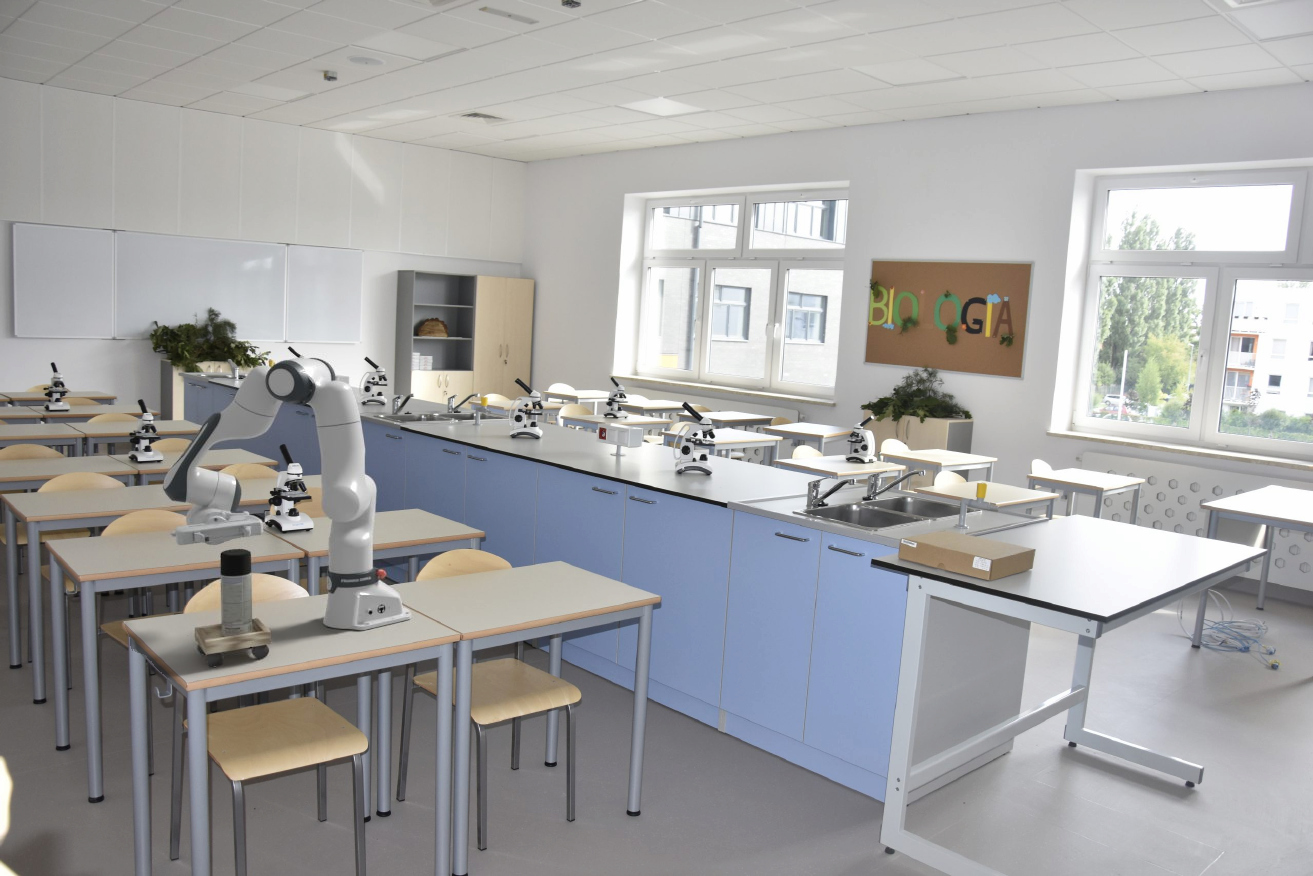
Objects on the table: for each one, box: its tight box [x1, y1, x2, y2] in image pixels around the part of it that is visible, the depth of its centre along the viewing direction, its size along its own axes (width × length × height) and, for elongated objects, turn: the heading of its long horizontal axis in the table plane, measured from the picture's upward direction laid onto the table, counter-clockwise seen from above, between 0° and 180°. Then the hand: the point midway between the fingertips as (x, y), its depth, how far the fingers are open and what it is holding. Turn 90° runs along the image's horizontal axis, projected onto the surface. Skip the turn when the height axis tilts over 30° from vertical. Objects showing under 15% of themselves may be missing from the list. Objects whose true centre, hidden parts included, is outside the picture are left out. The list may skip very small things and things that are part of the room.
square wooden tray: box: [194, 617, 272, 668], centre depth 223 cm, size 14×12×6 cm
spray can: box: [219, 548, 253, 637], centre depth 222 cm, size 7×7×20 cm
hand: (226, 536), depth 235 cm, fingers open, 8 cm apart
